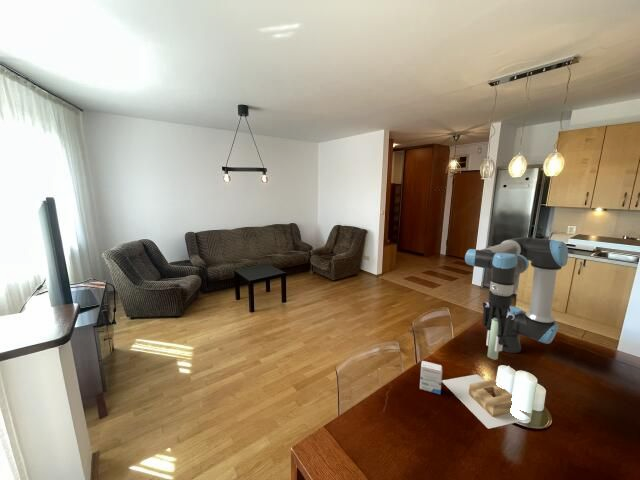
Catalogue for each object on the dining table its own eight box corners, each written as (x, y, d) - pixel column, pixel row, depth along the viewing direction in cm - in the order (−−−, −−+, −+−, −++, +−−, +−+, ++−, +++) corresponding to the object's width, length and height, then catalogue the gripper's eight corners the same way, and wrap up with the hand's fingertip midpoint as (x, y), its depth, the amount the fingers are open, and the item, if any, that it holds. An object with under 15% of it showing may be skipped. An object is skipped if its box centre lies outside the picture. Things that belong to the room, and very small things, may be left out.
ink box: (440, 388, 117) (442, 364, 115) (440, 396, 113) (442, 371, 111) (420, 382, 121) (421, 359, 119) (419, 389, 116) (421, 366, 114)
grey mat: (440, 381, 121) (441, 380, 121) (477, 375, 126) (477, 374, 126) (488, 430, 96) (488, 428, 96) (531, 420, 101) (531, 418, 101)
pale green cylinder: (485, 354, 108) (489, 316, 105) (492, 353, 108) (497, 316, 106) (492, 360, 104) (497, 320, 101) (499, 359, 105) (504, 320, 102)
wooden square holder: (468, 394, 113) (469, 384, 112) (491, 389, 116) (492, 379, 115) (492, 416, 101) (493, 405, 101) (517, 411, 104) (518, 400, 103)
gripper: (476, 286, 109) (470, 338, 113) (512, 301, 93) (504, 361, 97) (491, 285, 110) (485, 336, 114) (529, 300, 95) (520, 359, 98)
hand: (493, 347), depth 106 cm, fingers closed on pale green cylinder, 3 cm apart
